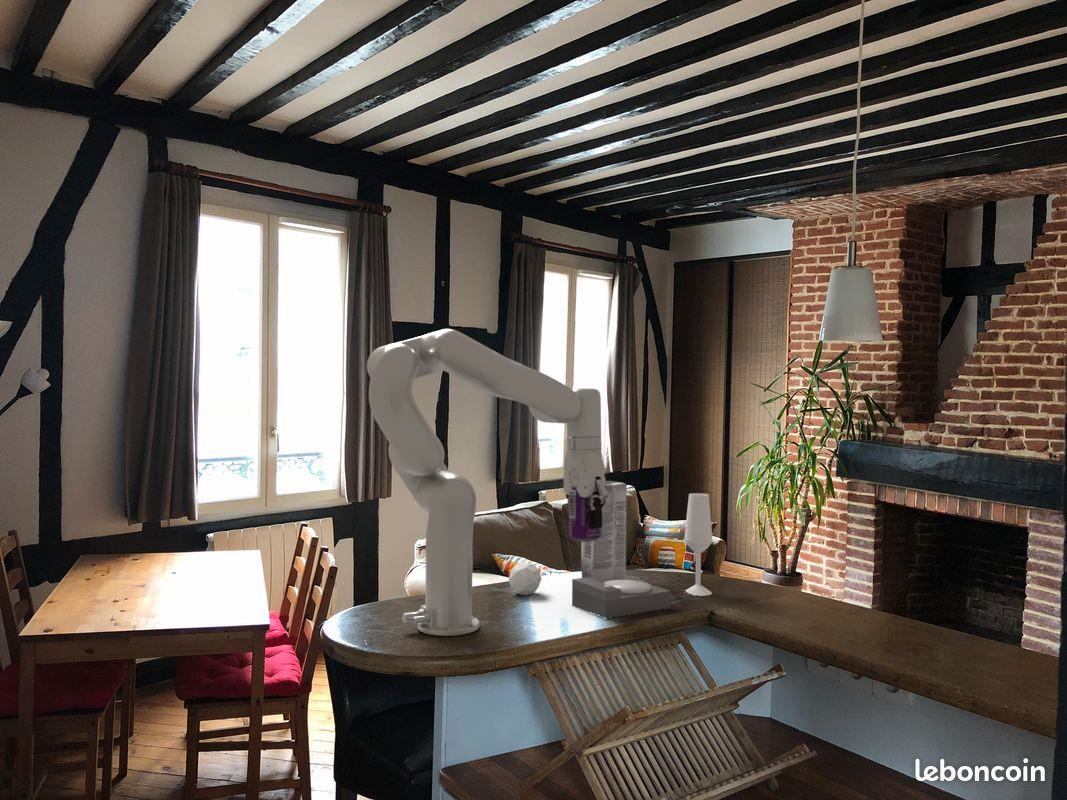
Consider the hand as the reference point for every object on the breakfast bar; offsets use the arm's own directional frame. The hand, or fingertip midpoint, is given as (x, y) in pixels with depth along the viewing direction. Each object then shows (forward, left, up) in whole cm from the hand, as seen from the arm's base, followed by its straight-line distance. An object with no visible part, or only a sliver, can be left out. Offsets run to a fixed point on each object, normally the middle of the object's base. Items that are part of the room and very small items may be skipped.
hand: (585, 524), depth 175 cm
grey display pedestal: (+10, 0, -19) cm, 22 cm away
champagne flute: (+35, +2, -20) cm, 40 cm away
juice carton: (+21, +22, -20) cm, 36 cm away
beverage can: (0, 0, -4) cm, 4 cm away
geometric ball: (-3, +21, -20) cm, 29 cm away
